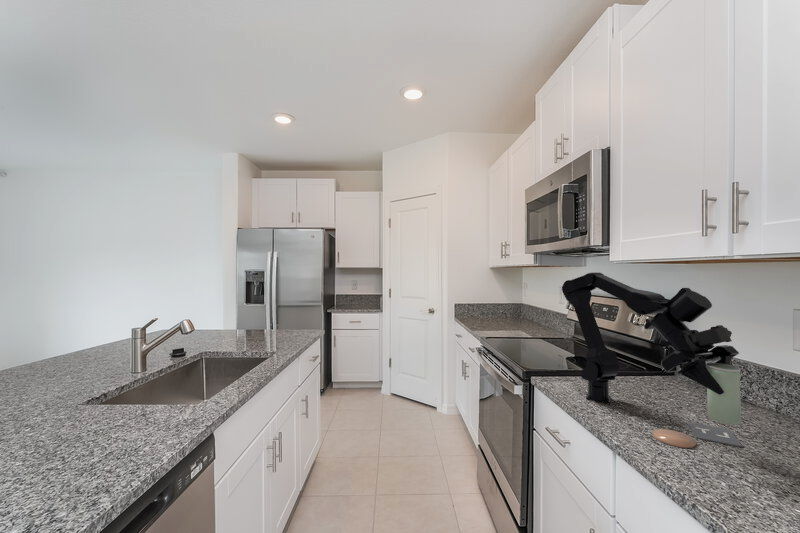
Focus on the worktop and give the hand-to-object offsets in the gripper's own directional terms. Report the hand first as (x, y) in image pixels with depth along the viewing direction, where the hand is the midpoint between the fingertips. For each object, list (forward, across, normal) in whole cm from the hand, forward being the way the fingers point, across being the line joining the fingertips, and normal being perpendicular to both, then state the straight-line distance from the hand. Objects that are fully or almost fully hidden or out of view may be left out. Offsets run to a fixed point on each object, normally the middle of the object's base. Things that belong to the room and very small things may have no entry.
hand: (730, 392), depth 75 cm
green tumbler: (+4, 0, +6) cm, 7 cm away
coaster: (+4, -6, +15) cm, 17 cm away
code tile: (+4, +6, +14) cm, 16 cm away
